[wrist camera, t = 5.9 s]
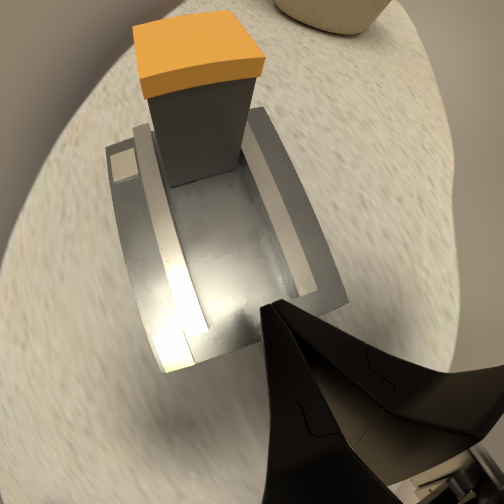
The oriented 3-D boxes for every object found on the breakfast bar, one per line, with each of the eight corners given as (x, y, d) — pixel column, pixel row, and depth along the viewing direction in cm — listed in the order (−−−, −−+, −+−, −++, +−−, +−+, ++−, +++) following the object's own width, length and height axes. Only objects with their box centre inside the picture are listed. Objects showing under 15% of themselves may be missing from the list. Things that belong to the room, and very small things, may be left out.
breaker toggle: (238, 170, 15) (265, 57, 7) (168, 189, 14) (139, 79, 6) (218, 118, 16) (229, 10, 8) (155, 134, 15) (132, 26, 7)
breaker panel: (334, 304, 17) (362, 301, 13) (167, 366, 14) (156, 380, 11) (258, 123, 19) (267, 92, 15) (113, 162, 17) (98, 134, 13)
